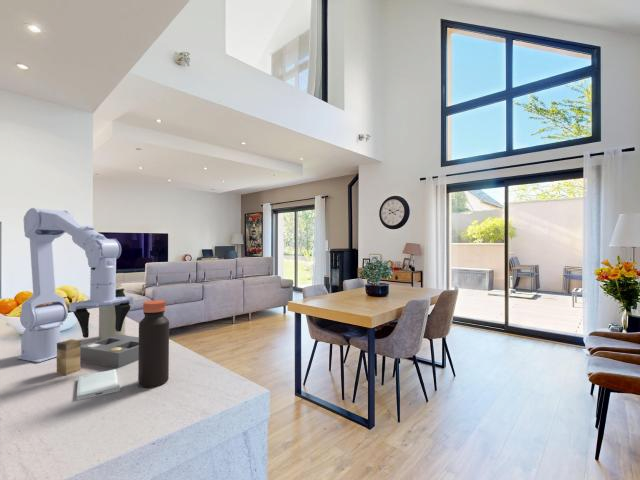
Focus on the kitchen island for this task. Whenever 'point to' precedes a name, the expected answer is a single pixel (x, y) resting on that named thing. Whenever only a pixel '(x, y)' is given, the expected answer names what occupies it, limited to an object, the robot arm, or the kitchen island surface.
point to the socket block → (111, 351)
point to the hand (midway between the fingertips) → (102, 333)
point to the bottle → (153, 345)
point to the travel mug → (110, 318)
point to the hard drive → (97, 384)
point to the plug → (68, 357)
